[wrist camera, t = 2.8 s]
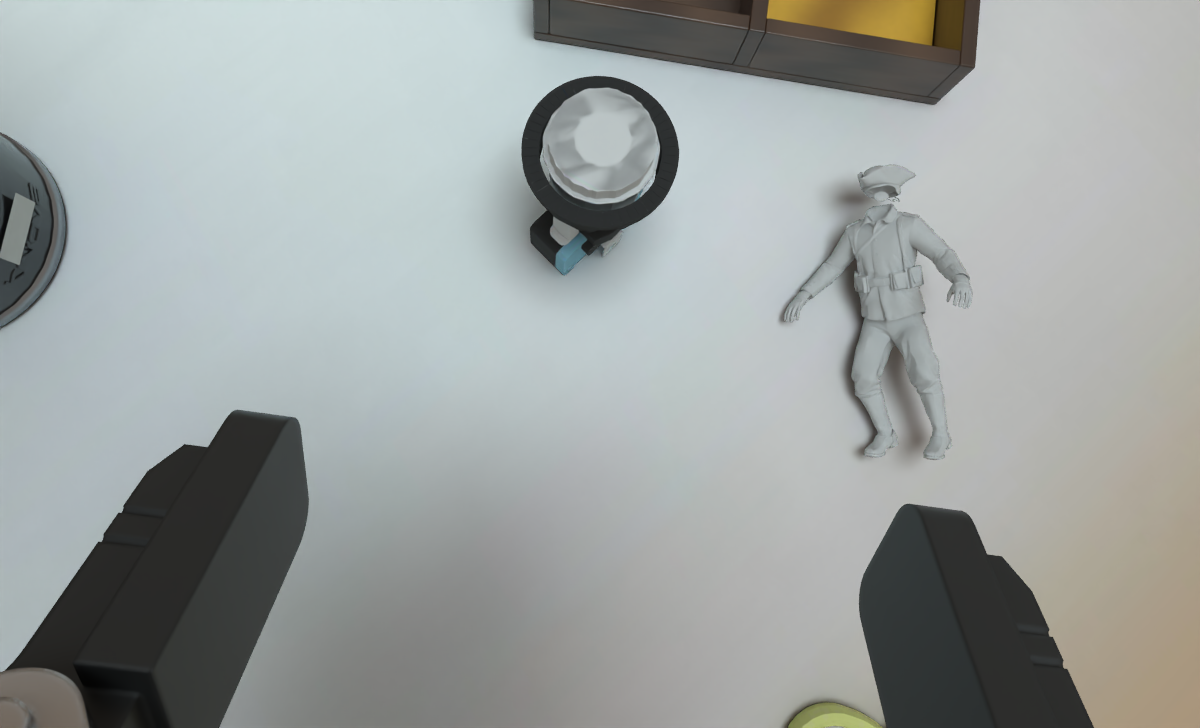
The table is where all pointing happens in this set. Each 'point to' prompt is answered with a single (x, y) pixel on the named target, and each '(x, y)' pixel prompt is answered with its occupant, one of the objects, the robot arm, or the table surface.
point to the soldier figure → (892, 303)
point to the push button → (595, 164)
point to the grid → (786, 38)
